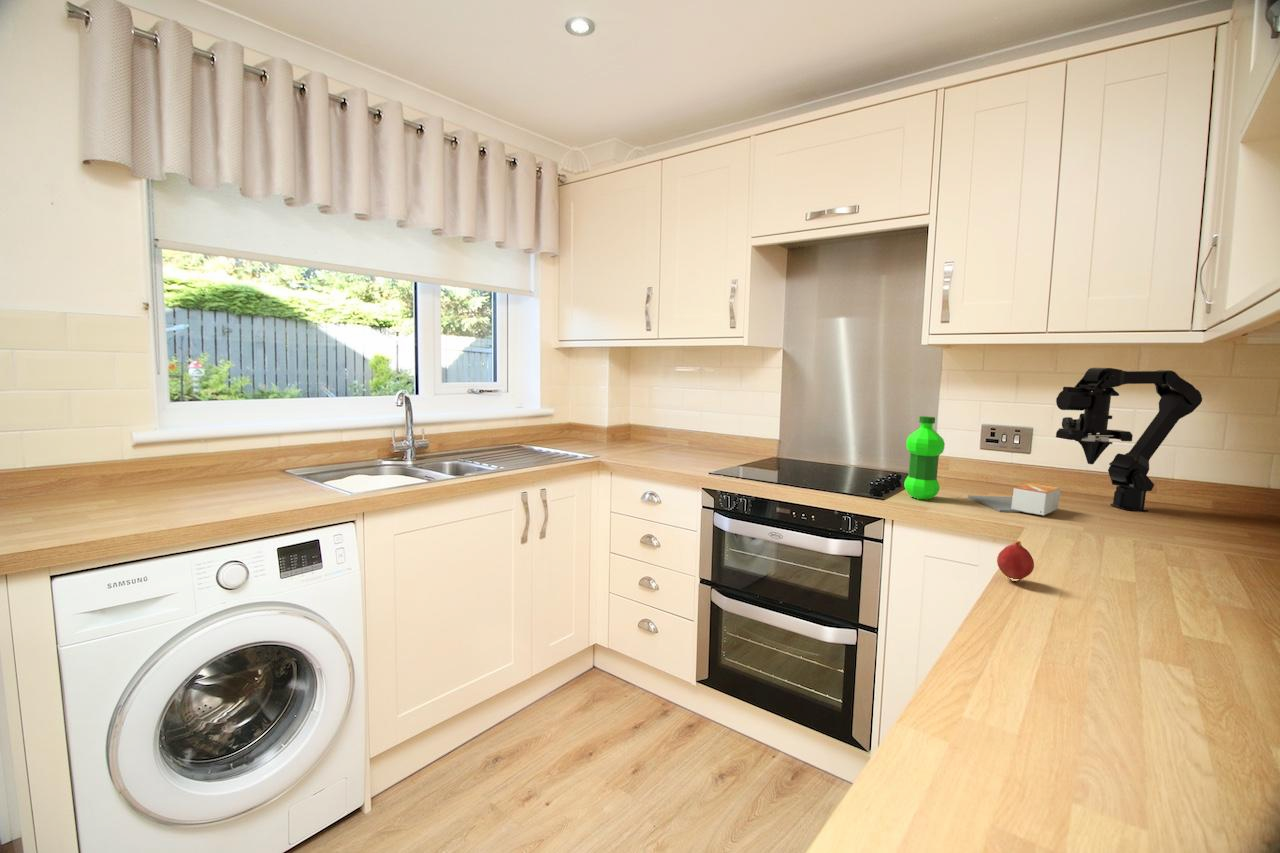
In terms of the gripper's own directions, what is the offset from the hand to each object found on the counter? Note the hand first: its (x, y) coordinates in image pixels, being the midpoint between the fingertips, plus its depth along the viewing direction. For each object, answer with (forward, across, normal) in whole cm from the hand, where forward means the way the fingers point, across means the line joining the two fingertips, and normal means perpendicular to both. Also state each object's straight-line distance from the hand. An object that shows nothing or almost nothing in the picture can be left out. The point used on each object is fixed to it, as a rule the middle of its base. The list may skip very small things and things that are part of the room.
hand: (1090, 464), depth 171 cm
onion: (+13, +63, +61) cm, 89 cm away
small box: (+9, +14, +2) cm, 17 cm away
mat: (+13, +23, -1) cm, 26 cm away
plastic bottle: (+13, +45, -8) cm, 48 cm away
